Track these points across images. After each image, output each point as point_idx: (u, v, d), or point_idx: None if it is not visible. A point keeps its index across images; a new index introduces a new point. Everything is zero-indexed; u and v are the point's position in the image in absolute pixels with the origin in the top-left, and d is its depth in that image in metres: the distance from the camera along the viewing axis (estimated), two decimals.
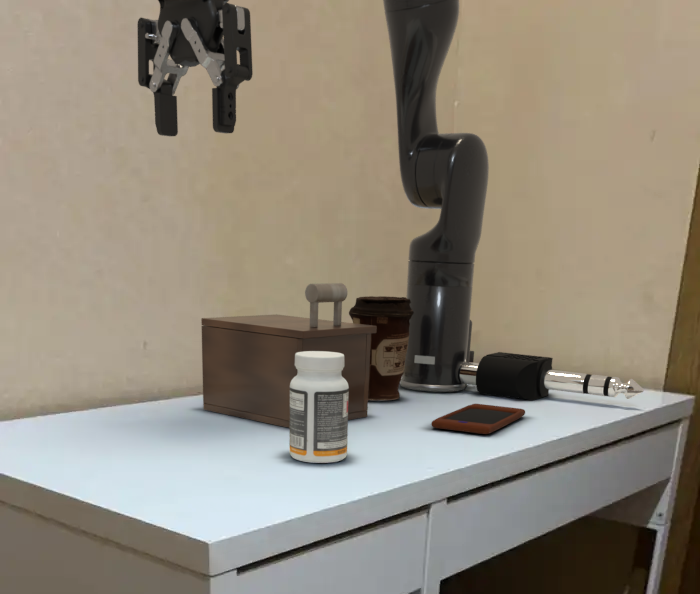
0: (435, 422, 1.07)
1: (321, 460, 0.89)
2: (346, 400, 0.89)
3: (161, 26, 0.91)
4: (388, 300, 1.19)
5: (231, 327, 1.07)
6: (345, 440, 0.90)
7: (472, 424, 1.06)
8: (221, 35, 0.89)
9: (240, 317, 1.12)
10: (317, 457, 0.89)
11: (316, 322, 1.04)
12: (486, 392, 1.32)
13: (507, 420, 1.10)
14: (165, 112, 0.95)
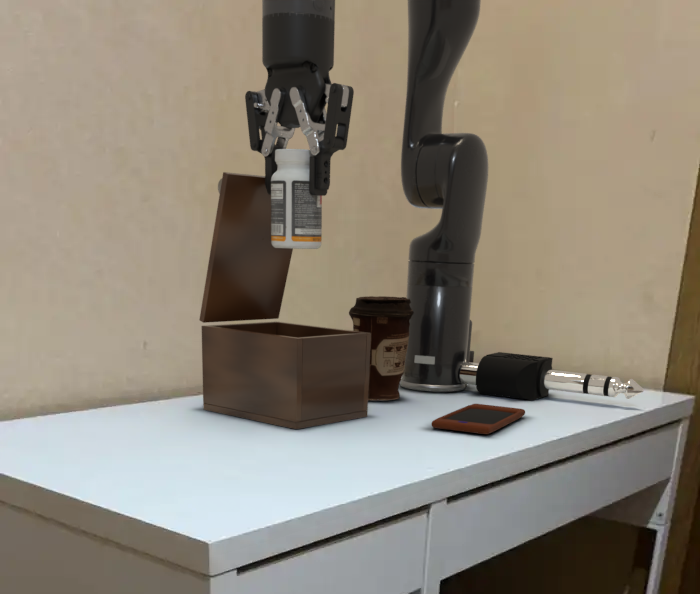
0: (435, 422, 1.07)
1: (299, 245, 1.03)
2: None
3: (269, 92, 1.00)
4: (388, 300, 1.19)
5: (209, 277, 1.07)
6: (319, 230, 1.04)
7: (472, 424, 1.06)
8: (326, 102, 0.98)
9: None
10: (295, 242, 1.02)
11: None
12: (486, 392, 1.32)
13: (507, 420, 1.10)
14: None
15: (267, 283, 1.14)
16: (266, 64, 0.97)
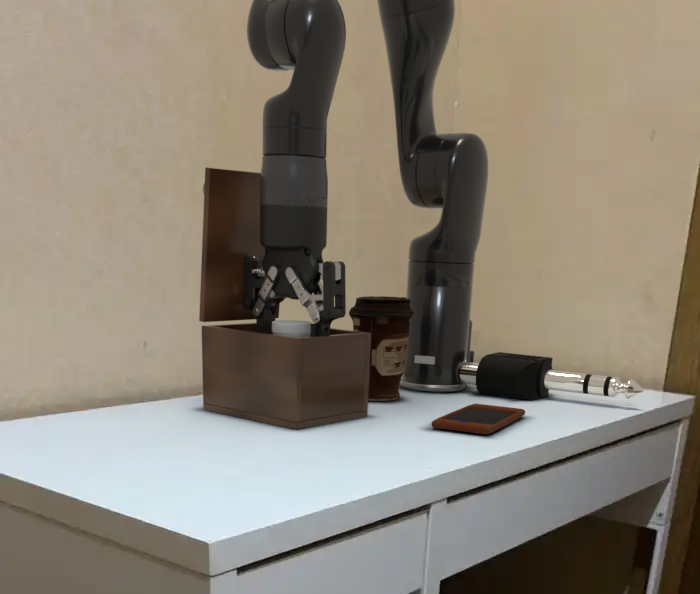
0: (435, 422, 1.07)
1: None
2: None
3: (266, 266, 1.08)
4: (388, 300, 1.19)
5: (204, 275, 1.07)
6: None
7: (472, 424, 1.06)
8: (319, 279, 1.05)
9: None
10: None
11: None
12: (486, 392, 1.32)
13: (507, 420, 1.10)
14: (266, 332, 1.12)
15: None
16: (264, 246, 1.05)
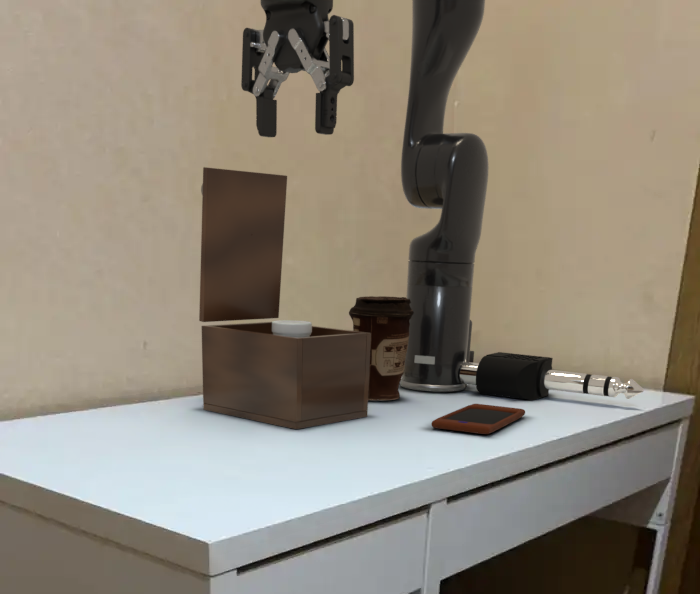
0: (435, 422, 1.07)
1: None
2: None
3: (267, 35, 0.99)
4: (388, 300, 1.19)
5: (203, 275, 1.07)
6: None
7: (472, 424, 1.06)
8: (325, 44, 0.97)
9: None
10: None
11: None
12: (486, 392, 1.32)
13: (507, 420, 1.10)
14: (266, 115, 1.03)
15: (262, 280, 1.14)
16: (264, 5, 0.96)
